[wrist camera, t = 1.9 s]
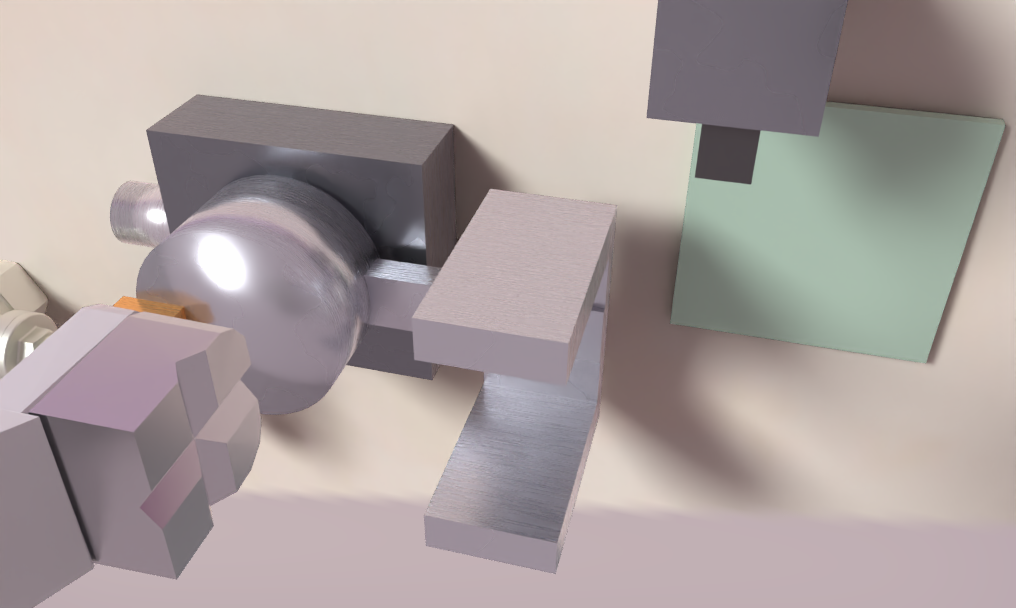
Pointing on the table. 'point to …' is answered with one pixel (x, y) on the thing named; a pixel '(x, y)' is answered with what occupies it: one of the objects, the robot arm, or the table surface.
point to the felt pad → (838, 231)
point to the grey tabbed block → (743, 73)
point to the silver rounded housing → (419, 334)
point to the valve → (20, 316)
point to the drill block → (318, 162)
